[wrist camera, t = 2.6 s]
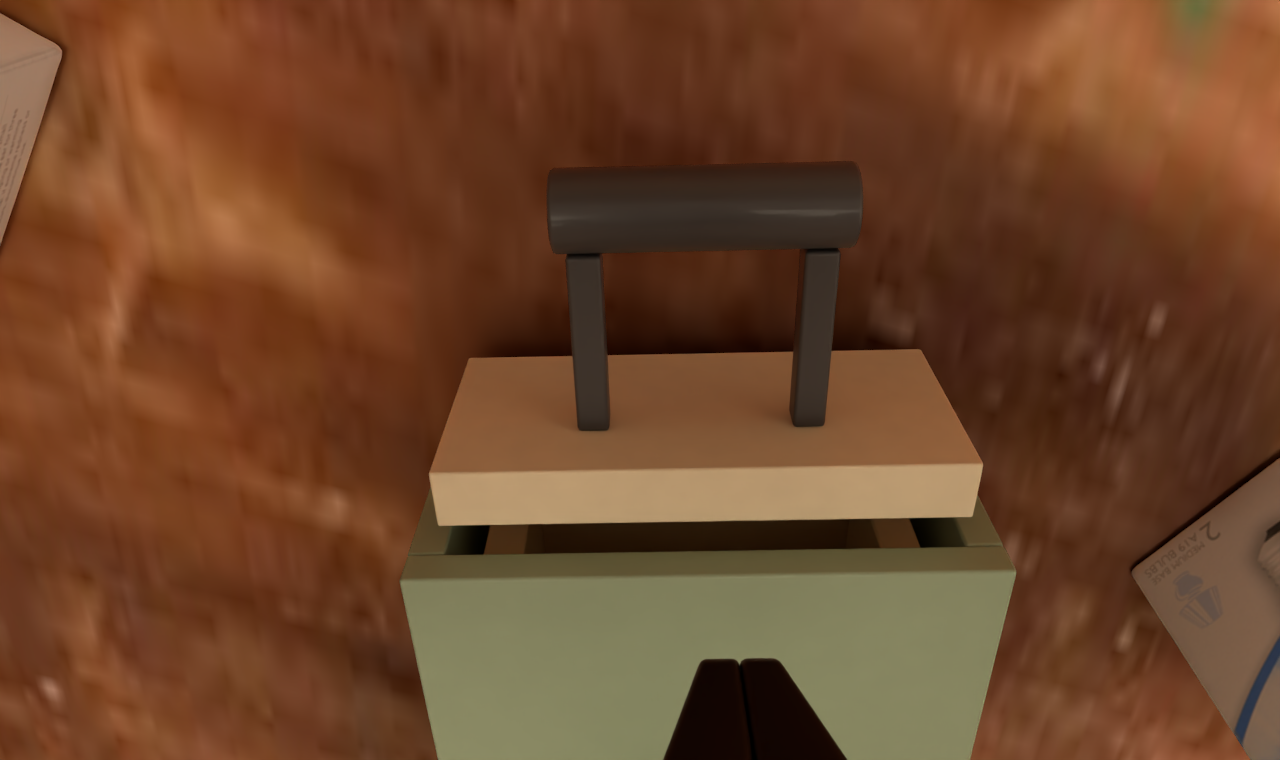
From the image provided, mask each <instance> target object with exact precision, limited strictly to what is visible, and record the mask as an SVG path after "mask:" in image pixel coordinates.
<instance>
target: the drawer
mask: <svg viewBox="0 0 1280 760" xmlns="http://www.w3.org/2000/svg"><path fill="white" fill-rule="evenodd" d="M862 217H863V185H862V178H861V173H860V170H859V167H858V165H857V164H856V163H855V162H853V161H836V162H794V163H751V164H708V165H665V166H622V167H579V168H553V169H551V170H550V171H549V174H548V179H547V224H548V234H549V241H550V246H551V249H552V251H553V253H555V254H566V259H565V262H566V276H567V290H568V303H569V317H570V331H571V345H572V356H546V357H495V358H469V359H468V362H467V365H466V368H465V371H464V374H463V377H462V380H461V383H460V385H459V388H458V391H457V394H456V397H455V400H454V403H453V406H452V409H451V411H450V414H449V417H448V420H447V423H446V426H445V429H444V432H443V434H442V437H441V440H440V443H439V446H438V449H437V452H436V455H435V458H434V460H433V463H432V466H431V469H430V472H429V479H430V484H431V490H432V496H433V501H434V507H435V512H436V518H437V523H438V525H439V526H456V525H490V528H489V533H488V537H487V542H486V546H485V550H484V554H546V553H610V552H673V551H736V550H800V549H863V548H921V547H920V545H919V542H918V539H917V537H916V534H915V532H914V529H913V527H912V524H911V522H910V519H909V518H945V517H972V516H973V513H974V508H975V503H976V498H977V493H978V489H979V484H980V479H981V474H982V469H983V462H982V461H981V459H980V457H979V455H978V453H977V451H976V450H975V448H974V446H973V444H972V442H971V441H970V439H969V437H968V435H967V433H966V431H965V430H964V428H963V426H962V424H961V422H960V420H959V419H958V417H957V415H956V413H955V411H954V410H953V408H952V406H951V404H950V402H949V400H948V399H947V397H946V395H945V393H944V391H943V389H942V388H941V386H940V384H939V382H938V380H937V379H936V377H935V375H934V373H933V371H932V369H931V368H930V366H929V364H928V362H927V360H926V359H925V357H924V355H923V353H922V351H921V350H920V349H902V350H851V351H832V341H833V331H834V320H835V310H836V299H837V288H838V278H839V267H840V257H841V254H840V251H839V249H838V248H851V247H853V246H855V244H856V243H857V240H858V237H859V234H860V230H861V225H862ZM776 249H800V261H799V275H798V290H797V304H796V319H795V333H794V347H793V352H749V353H699V354H648V355H607V335H606V315H605V295H604V275H603V255H602V253H637V252H683V251H729V250H776Z"/></svg>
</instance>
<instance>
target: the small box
mask: <svg viewBox="0 0 1280 760" xmlns="http://www.w3.org/2000/svg"><path fill="white" fill-rule="evenodd" d="M61 59H62V50H61V49H60V47H59V46H58V45H57V44H55V43H54V42H52V41H50V40H48V39H46V38H44V37H42V36H40V35H38V34H36V33H35V32H33V31H31V30H29V29H28V28H26V27H24V26H22V25H21V24H19V23H17V22H15V21H13V20H11V19H10V18H8V17H6V16H4V15H3V14H1V13H0V244H1V241H2V238H3V235H4V232H5V229H6V226H7V223H8V220H9V217H10V214H11V212H12V209H13V206H14V203H15V200H16V197H17V194H18V191H19V188H20V185H21V182H22V179H23V176H24V172H25V169H26V166H27V163H28V160H29V157H30V154H31V151H32V148H33V145H34V142H35V139H36V136H37V133H38V130H39V127H40V124H41V120H42V117H43V114H44V111H45V108H46V104H47V101H48V98H49V95H50V92H51V88H52V85H53V82H54V79H55V76H56V72H57V69H58V66H59V64H60V61H61Z"/></svg>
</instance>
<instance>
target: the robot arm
mask: <svg viewBox="0 0 1280 760" xmlns="http://www.w3.org/2000/svg"><path fill="white" fill-rule="evenodd" d="M663 760H847V758H846V757H845V755H844V754H843V752H842V751H841V749H840V748H839V747H838V745H837V744H836V742H835V741H834V739H833V738H832V736H831V735H830V733H829V732H828V730H827V729H826V727H825V726H824V724H823V723H822V722H821V720H820V719H819V717H818V716H817V714H816V713H815V711H814V710H813V708H812V707H811V705H810V704H809V702H808V701H807V700H806V698H805V697H804V695H803V694H802V692H801V691H800V689H799V688H798V686H797V685H796V683H795V682H794V680H793V679H792V678H791V676H790V675H789V673H788V672H787V670H786V669H785V667H784V666H783V665H782V663H781V662H780V661H779V660H777V659H775V658H746V659H744V660H742V661H741V662H740V665H739V663H738V661H737V660H735V659H704V660H702V661H701V662H700V663H699V665H698V668H697V670H696V673H695V676H694V678H693V681H692V684H691V686H690V689H689V692H688V694H687V697H686V700H685V702H684V705H683V708H682V710H681V713H680V716H679V718H678V721H677V724H676V726H675V729H674V732H673V734H672V737H671V740H670V742H669V745H668V748H667V750H666V753H665V756H664V759H663Z"/></svg>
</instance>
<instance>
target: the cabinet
mask: <svg viewBox="0 0 1280 760" xmlns="http://www.w3.org/2000/svg"><path fill="white" fill-rule="evenodd" d="M909 519H910V522H911V524H912V527H913V529H914V532H915V534H916V537H917V539H918V542H919V545H920V547H921V548H863V549H800V550H736V551H673V552H610V553H546V554H484V550H485V546H486V542H487V537H488V533H489V528H490V525H456V526H439V525H438V523H437V518H436V512H435V507H434V501H433V496H432V490H431V487H430V490H429V493H428V496H427V499H426V502H425V505H424V508H423V511H422V514H421V517H420V520H419V523H418V526H417V529H416V532H415V535H414V538H413V541H412V544H411V547H410V550H409V553H408V557H407V560H406V563H405V566H404V569H403V572H402V575H401V578H400V586H401V590H402V595H403V600H404V604H405V609H406V614H407V618H408V623H409V627H410V632H411V637H412V641H413V646H414V651H415V655H416V660H417V664H418V669H419V674H420V678H421V683H422V688H423V692H424V697H425V702H426V706H427V711H428V715H429V720H430V725H431V729H432V734H433V739H434V743H435V748H436V752H437V757H438V760H663V759H664V756H665V753H666V750H667V748H668V745H669V742H670V740H671V737H672V734H673V732H674V729H675V726H676V724H677V721H678V718H679V716H680V713H681V710H682V708H683V705H684V702H685V700H686V697H687V694H688V692H689V689H690V686H691V684H692V681H693V678H694V676H695V673H696V670H697V668H698V665H699V663H700V662H701V661H702V660H704V659H735V660H737V661H738V663H739V665H740V662H741V661H742V660H744V659H746V658H775V659H777V660H779V661H780V662H781V663H782V665H783V666H784V667H785V669H786V670H787V672H788V673H789V675H790V676H791V678H792V679H793V680H794V682H795V683H796V685H797V686H798V688H799V689H800V691H801V692H802V694H803V695H804V697H805V698H806V700H807V701H808V702H809V704H810V705H811V707H812V708H813V710H814V711H815V713H816V714H817V716H818V717H819V719H820V720H821V722H822V723H823V724H824V726H825V727H826V729H827V730H828V732H829V733H830V735H831V736H832V738H833V739H834V741H835V742H836V744H837V745H838V747H839V748H840V749H841V751H842V752H843V754H844V755H845V757H846V758H847V760H970V757H971V753H972V749H973V745H974V741H975V737H976V733H977V729H978V725H979V721H980V717H981V713H982V709H983V705H984V701H985V697H986V693H987V689H988V685H989V681H990V677H991V673H992V669H993V665H994V661H995V657H996V653H997V649H998V645H999V641H1000V637H1001V633H1002V629H1003V625H1004V621H1005V617H1006V613H1007V609H1008V605H1009V601H1010V597H1011V593H1012V589H1013V585H1014V581H1015V577H1016V569H1015V567H1014V565H1013V563H1012V561H1011V559H1010V557H1009V555H1008V553H1007V551H1006V549H1005V548H1004V547H1003V544H1002V542H1001V540H1000V538H999V536H998V534H997V532H996V530H995V528H994V526H993V524H992V522H991V520H990V518H989V516H988V514H987V512H986V510H985V508H984V507H983V505H982V503H981V501H980V499H979V497H978V495H977V498H976V503H975V508H974V513H973V516H972V517H945V518H909Z"/></svg>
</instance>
